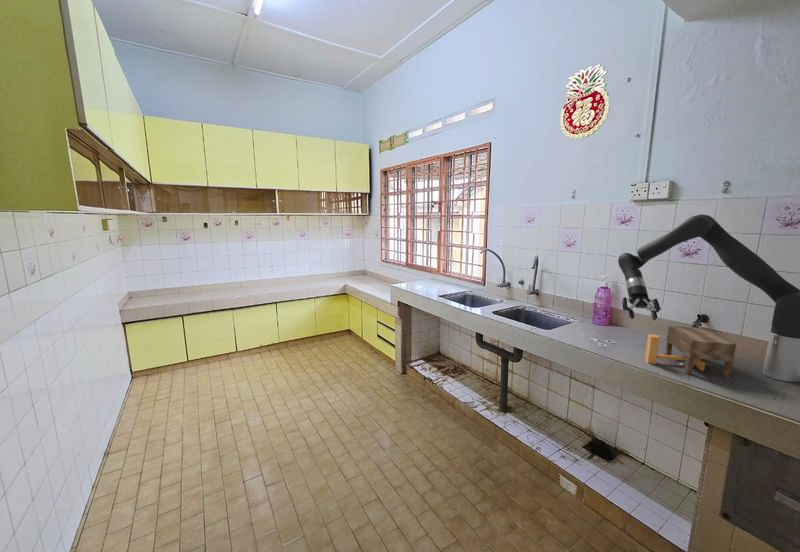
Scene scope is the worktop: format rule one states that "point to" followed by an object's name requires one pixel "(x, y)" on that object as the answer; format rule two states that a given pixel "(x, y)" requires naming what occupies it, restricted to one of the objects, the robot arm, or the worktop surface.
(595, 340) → the scissors
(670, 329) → the wooden footstool
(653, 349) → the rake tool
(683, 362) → the steel token
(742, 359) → the worktop surface
